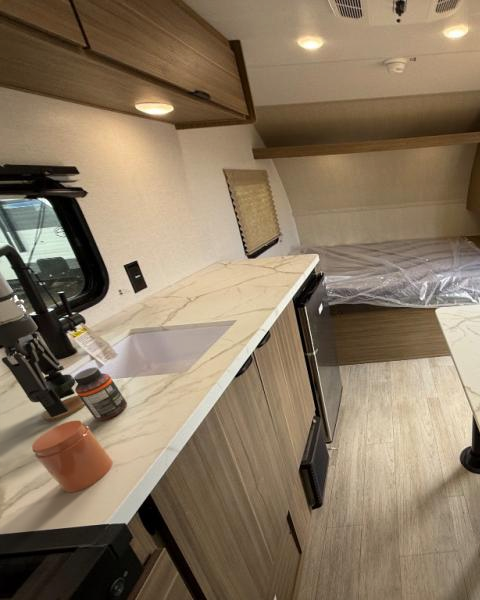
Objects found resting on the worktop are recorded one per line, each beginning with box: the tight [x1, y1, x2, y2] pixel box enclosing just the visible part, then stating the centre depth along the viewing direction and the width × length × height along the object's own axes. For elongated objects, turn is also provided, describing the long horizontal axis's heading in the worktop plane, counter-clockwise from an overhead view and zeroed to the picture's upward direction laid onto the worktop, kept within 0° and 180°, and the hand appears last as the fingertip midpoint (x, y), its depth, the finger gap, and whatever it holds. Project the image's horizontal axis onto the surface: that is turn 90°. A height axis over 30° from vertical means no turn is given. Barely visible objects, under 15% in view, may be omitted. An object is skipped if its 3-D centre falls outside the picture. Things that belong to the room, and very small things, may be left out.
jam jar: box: [31, 419, 113, 493], centre depth 55 cm, size 7×7×10 cm
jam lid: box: [28, 374, 77, 403], centre depth 74 cm, size 8×8×2 cm
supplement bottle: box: [73, 366, 128, 421], centre depth 71 cm, size 6×6×11 cm
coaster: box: [42, 394, 86, 422], centre depth 76 cm, size 8×8×1 cm
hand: (63, 404), depth 76 cm, fingers closed on jam lid, 7 cm apart
